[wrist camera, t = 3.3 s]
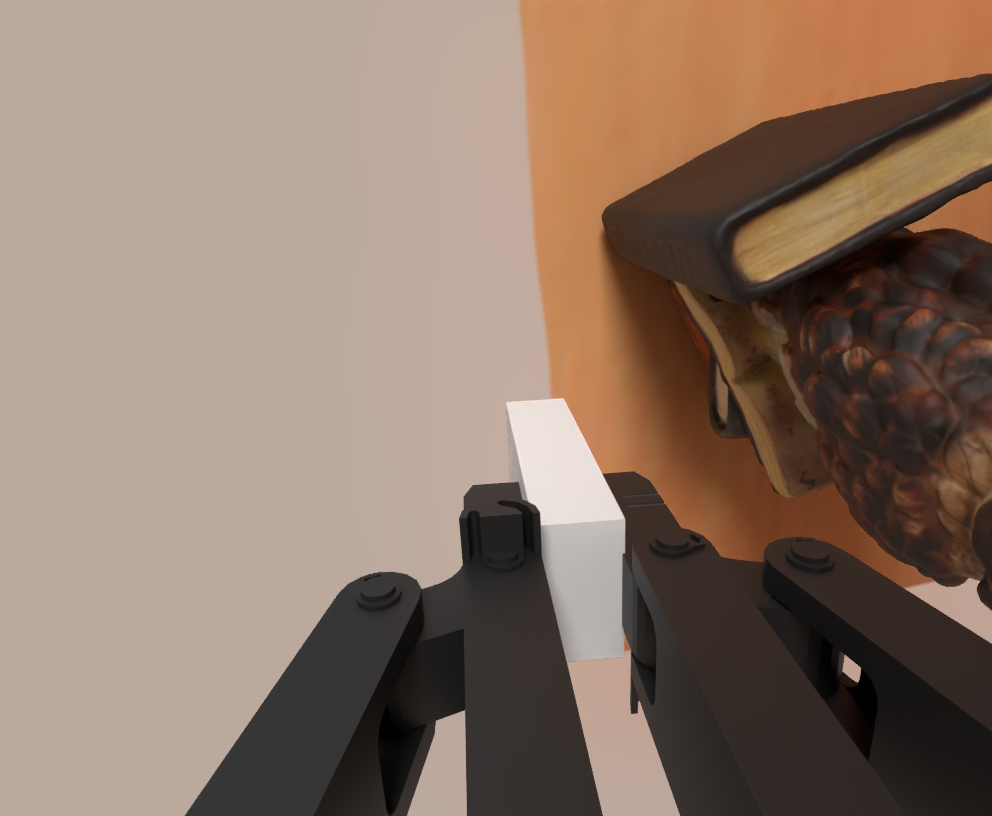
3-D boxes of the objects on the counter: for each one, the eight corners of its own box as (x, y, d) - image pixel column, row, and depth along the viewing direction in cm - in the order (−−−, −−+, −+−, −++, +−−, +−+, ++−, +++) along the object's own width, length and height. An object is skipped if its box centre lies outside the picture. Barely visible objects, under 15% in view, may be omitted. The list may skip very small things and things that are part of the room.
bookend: (591, 206, 32) (961, 267, 8) (799, 101, 31) (1910, -175, 7) (693, 452, 36) (1119, 943, 13) (878, 369, 35) (1713, 737, 12)
